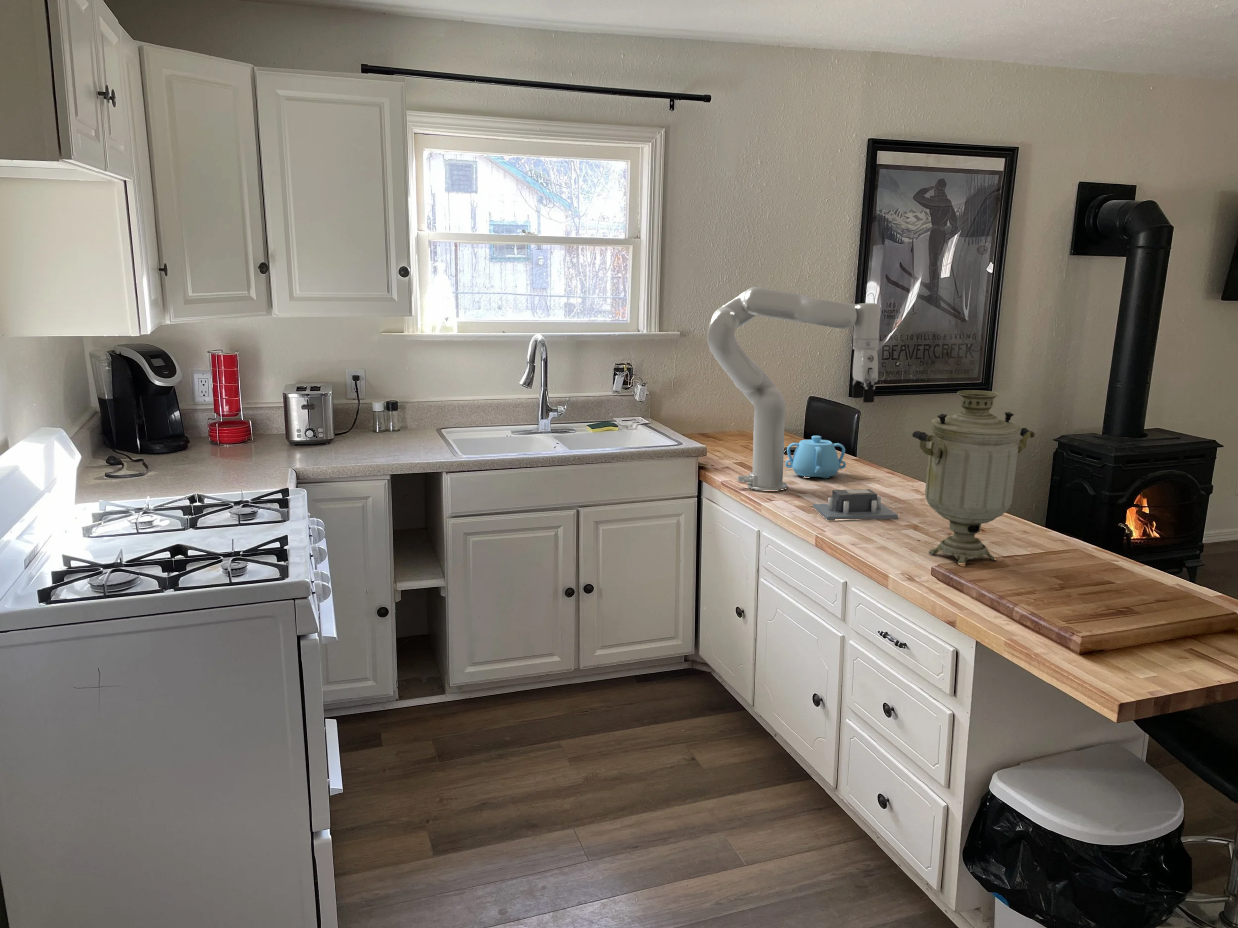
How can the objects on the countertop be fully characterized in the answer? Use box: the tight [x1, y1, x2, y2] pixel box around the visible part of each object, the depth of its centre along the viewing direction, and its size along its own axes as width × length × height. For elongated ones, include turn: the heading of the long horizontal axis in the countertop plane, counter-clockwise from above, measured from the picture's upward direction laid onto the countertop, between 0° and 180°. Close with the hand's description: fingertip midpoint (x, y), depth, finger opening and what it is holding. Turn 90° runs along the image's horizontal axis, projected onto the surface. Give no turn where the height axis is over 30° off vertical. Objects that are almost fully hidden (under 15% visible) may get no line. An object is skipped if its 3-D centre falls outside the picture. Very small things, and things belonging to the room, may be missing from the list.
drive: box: [831, 488, 878, 512], centre depth 259 cm, size 11×6×5 cm, turn 95°
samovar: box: [911, 389, 1036, 564], centre depth 219 cm, size 30×26×40 cm
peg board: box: [812, 495, 899, 521], centre depth 260 cm, size 20×14×5 cm
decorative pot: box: [784, 435, 847, 479], centre depth 306 cm, size 16×16×14 cm
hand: (862, 400), depth 282 cm, fingers open, 9 cm apart
